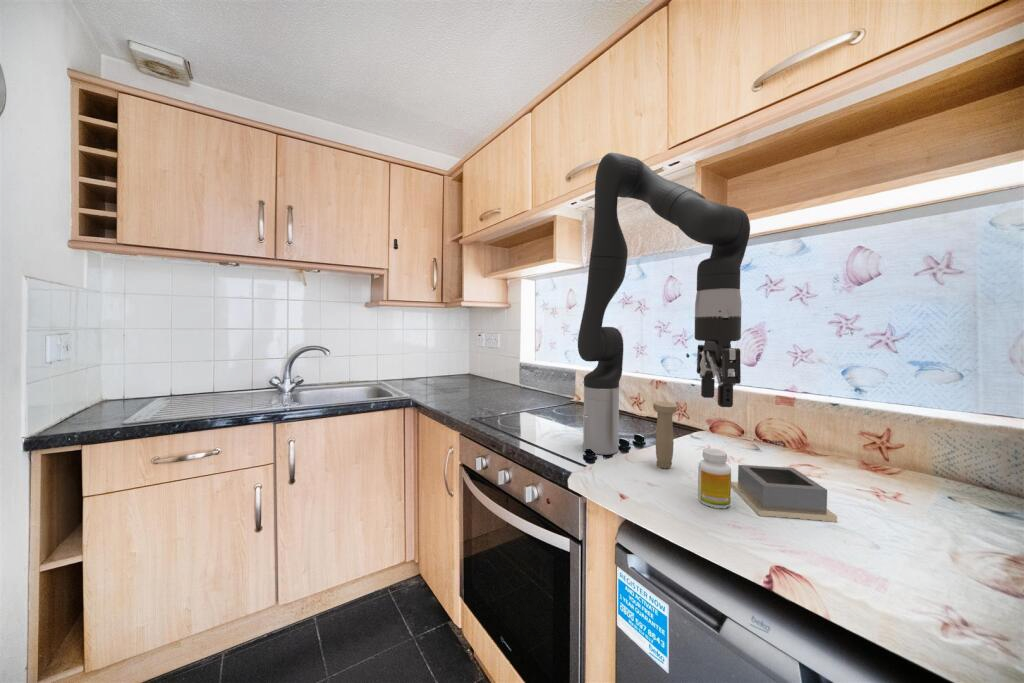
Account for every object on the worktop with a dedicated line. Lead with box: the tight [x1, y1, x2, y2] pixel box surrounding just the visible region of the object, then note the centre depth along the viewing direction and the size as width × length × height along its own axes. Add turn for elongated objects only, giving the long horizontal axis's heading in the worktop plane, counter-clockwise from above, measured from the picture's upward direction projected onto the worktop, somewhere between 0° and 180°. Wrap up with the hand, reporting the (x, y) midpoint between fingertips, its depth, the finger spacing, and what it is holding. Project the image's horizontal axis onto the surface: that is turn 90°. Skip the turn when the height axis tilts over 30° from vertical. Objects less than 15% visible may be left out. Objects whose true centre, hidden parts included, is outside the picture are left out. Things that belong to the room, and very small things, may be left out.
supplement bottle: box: [697, 448, 732, 509], centre depth 68 cm, size 5×5×10 cm
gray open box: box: [731, 464, 838, 523], centre depth 68 cm, size 12×12×5 cm
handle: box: [652, 400, 678, 469], centre depth 86 cm, size 5×6×15 cm
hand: (715, 401), depth 68 cm, fingers open, 8 cm apart
